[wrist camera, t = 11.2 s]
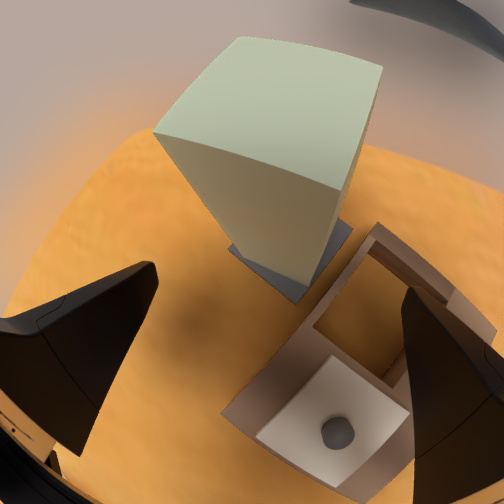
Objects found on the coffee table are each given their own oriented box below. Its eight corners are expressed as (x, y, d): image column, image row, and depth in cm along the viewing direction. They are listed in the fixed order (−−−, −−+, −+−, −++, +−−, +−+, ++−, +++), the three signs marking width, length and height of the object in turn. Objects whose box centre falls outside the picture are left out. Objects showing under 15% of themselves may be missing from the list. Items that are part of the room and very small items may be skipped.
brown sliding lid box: (356, 487, 12) (367, 517, 8) (230, 402, 15) (211, 422, 11) (477, 331, 14) (511, 329, 10) (367, 235, 17) (385, 210, 13)
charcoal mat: (295, 305, 16) (295, 304, 16) (229, 251, 18) (227, 249, 17) (351, 231, 17) (353, 228, 16) (286, 186, 19) (285, 182, 18)
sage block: (308, 286, 16) (340, 191, 4) (243, 257, 17) (151, 131, 6) (335, 223, 17) (383, 66, 5) (273, 198, 18) (239, 36, 6)
